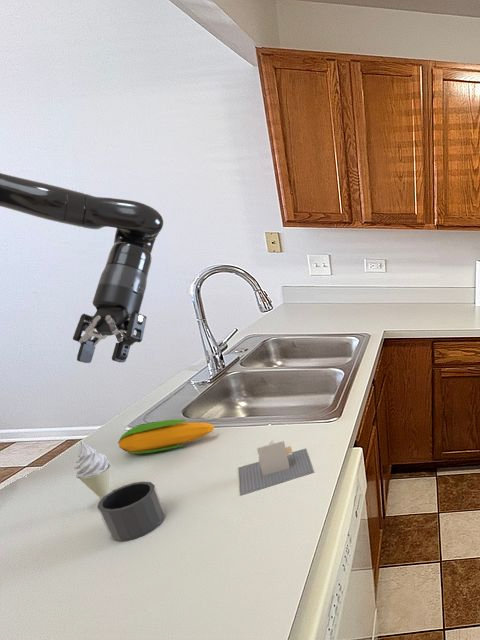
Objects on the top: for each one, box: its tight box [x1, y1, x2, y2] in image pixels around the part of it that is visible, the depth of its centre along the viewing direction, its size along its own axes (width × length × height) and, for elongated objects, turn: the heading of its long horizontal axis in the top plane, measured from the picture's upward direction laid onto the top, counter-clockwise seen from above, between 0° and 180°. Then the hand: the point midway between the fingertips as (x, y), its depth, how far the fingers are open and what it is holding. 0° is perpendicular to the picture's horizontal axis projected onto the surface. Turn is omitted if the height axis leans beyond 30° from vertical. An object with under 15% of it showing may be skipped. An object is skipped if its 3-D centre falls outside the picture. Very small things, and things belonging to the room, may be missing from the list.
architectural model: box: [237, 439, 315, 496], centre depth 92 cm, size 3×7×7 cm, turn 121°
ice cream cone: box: [73, 440, 111, 500], centre depth 80 cm, size 5×5×15 cm
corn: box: [117, 419, 215, 454], centre depth 100 cm, size 7×8×20 cm
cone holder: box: [97, 481, 166, 542], centre depth 75 cm, size 8×8×7 cm
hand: (100, 361), depth 82 cm, fingers open, 8 cm apart
